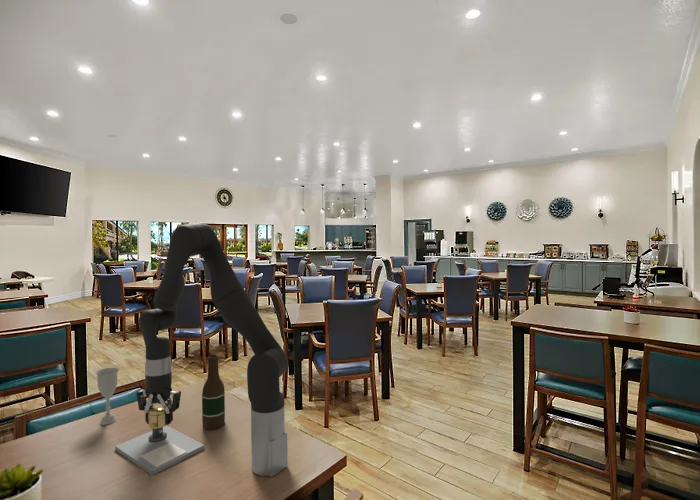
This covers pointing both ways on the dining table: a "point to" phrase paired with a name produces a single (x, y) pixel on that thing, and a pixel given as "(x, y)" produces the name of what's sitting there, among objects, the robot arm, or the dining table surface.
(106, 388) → the chalice
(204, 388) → the beer bottle
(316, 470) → the dining table surface
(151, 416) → the cap
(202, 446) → the board
